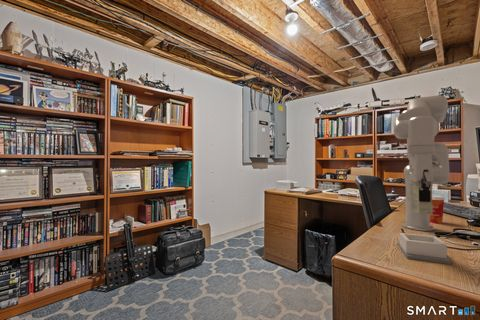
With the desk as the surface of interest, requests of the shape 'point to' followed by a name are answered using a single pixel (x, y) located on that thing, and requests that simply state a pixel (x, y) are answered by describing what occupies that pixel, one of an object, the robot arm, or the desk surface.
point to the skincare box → (414, 199)
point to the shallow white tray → (423, 248)
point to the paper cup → (437, 209)
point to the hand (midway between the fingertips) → (421, 199)
